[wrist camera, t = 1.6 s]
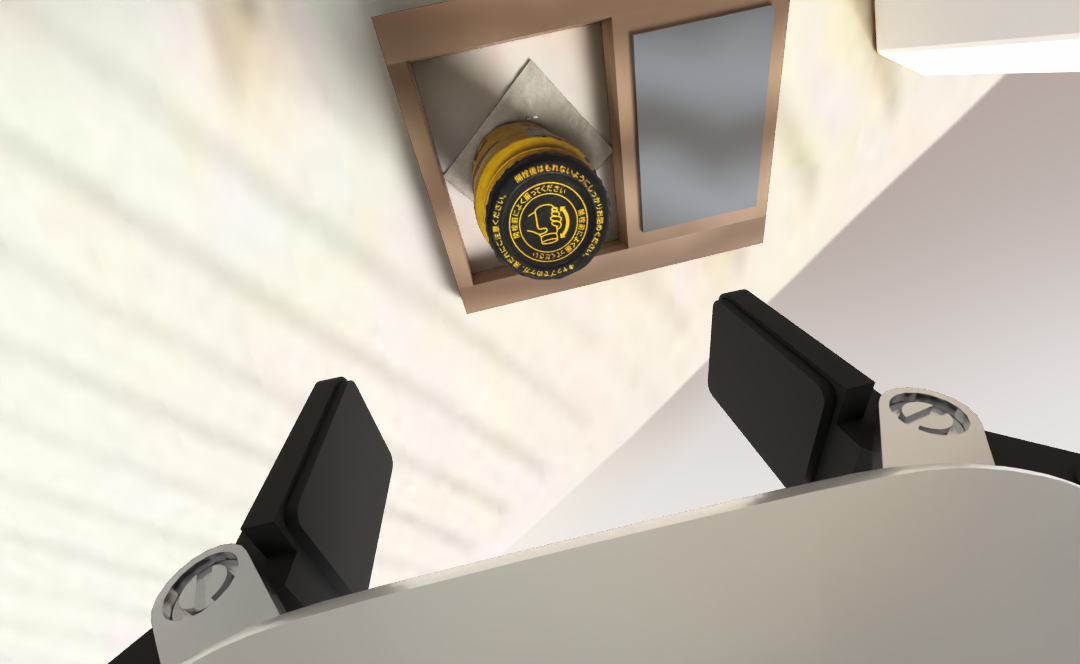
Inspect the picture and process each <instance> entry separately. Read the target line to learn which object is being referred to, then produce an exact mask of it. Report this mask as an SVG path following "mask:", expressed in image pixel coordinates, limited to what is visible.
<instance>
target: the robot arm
mask: <svg viewBox="0 0 1080 664" xmlns="http://www.w3.org/2000/svg"><path fill="white" fill-rule="evenodd" d="M874 384H875V382H874V381H873V380H871V379H870V378H868V377H867V376H866V375H864V374H863V373H862V372H860V371H859V370H857V369H856V368H854V367H853V366H852V365H850V364H849V363H848V362H846V361H845V360H843V359H842V358H841V357H839V356H838V355H837V354H835V353H834V352H832V351H831V350H830V349H828V348H826V347H825V346H824V345H823V344H821V343H820V342H818V341H817V340H816V339H814V338H813V337H812V336H810V335H809V334H807V333H806V332H805V331H803V330H802V329H800V328H799V327H798V326H796V325H795V324H794V323H792V322H791V321H789V320H788V319H787V318H785V317H784V316H782V315H781V314H779V313H778V312H777V311H775V310H774V309H773V308H771V307H770V306H768V305H767V304H766V303H764V302H763V301H762V300H760V299H759V298H757V297H756V296H755V295H753V294H752V293H750V292H749V291H747V290H745V289H743V290H738V291H733V292H728V293H724V294H722V295H720V297H719V300H718V301H715V302H714V304H713V314H712V328H711V343H710V358H709V372H708V387H709V390H710V392H711V394H712V396H713V397H714V398H715V399H716V401H717V402H718V403H719V404H720V406H721V407H722V408H723V409H724V410H725V412H726V413H727V414H728V416H729V417H730V418H731V419H732V421H733V422H734V423H735V424H736V426H737V427H738V428H739V429H740V431H741V432H742V433H743V435H744V436H745V437H746V438H747V439H748V441H749V442H750V443H751V445H752V446H753V447H754V448H755V450H756V451H757V452H758V453H759V455H760V456H761V457H762V458H763V460H764V461H765V462H766V463H767V465H768V466H769V467H770V468H771V470H772V471H773V472H774V473H775V474H776V476H777V477H778V478H779V480H780V481H781V482H782V483H783V485H784V486H785V487H786V488H784V489H780V490H775V491H771V492H768V493H763V494H759V495H754V496H750V497H746V498H742V499H737V500H733V501H729V502H724V503H720V504H716V505H712V506H707V507H703V508H699V509H695V510H690V511H686V512H682V513H678V514H673V515H669V516H665V517H661V518H657V519H652V520H649V521H644V522H640V523H636V524H631V525H627V526H623V527H619V528H615V529H611V530H607V531H602V532H598V533H595V534H590V535H586V536H582V537H577V538H573V539H569V540H565V541H561V542H557V543H553V544H548V545H544V546H540V547H536V548H532V549H528V550H524V551H520V552H515V553H512V554H508V555H503V556H499V557H495V558H491V559H487V560H483V561H479V562H475V563H471V564H467V565H463V566H459V567H455V568H451V569H447V570H442V571H438V572H434V573H430V574H426V575H422V576H418V577H414V578H410V579H406V580H402V581H398V582H394V583H391V584H387V585H383V586H379V587H375V588H372V589H368V588H369V583H370V578H371V573H372V568H373V563H374V558H375V553H376V548H377V543H378V538H379V533H380V528H381V523H382V518H383V513H384V508H385V503H386V498H387V493H388V488H389V483H390V478H391V473H392V468H393V461H392V456H391V453H390V451H389V449H388V447H387V445H386V443H385V441H384V440H383V438H382V436H381V434H380V432H379V430H378V428H377V426H376V424H375V422H374V420H373V418H372V416H371V414H370V412H369V410H368V408H367V406H366V404H365V402H364V400H363V398H362V396H361V394H360V392H359V390H358V388H357V386H356V384H355V383H354V382H353V381H351V380H350V381H347V380H346V379H345V378H344V377H337V378H332V379H328V380H323V381H319V382H317V383H316V384H315V386H314V388H313V390H312V392H311V394H310V396H309V398H308V400H307V402H306V404H305V405H304V407H303V409H302V411H301V413H300V415H299V417H298V419H297V421H296V423H295V425H294V427H293V429H292V430H291V432H290V434H289V436H288V438H287V440H286V442H285V444H284V446H283V448H282V450H281V452H280V454H279V455H278V457H277V459H276V461H275V463H274V465H273V467H272V469H271V471H270V473H269V475H268V477H267V479H266V481H265V482H264V484H263V486H262V488H261V490H260V492H259V494H258V496H257V498H256V500H255V502H254V504H253V506H252V507H251V509H250V511H249V513H248V515H247V517H246V519H245V521H244V523H243V525H242V527H241V530H242V533H241V535H240V536H239V538H238V540H237V542H236V544H232V543H231V544H225V545H220V546H217V547H215V548H212V549H210V550H207V551H205V552H204V553H202V554H200V555H199V556H197V557H195V558H194V559H192V560H191V561H190V562H189V563H187V564H186V565H185V566H184V567H182V568H181V569H180V570H179V571H178V572H177V573H176V574H175V575H174V576H173V577H172V578H171V579H170V580H169V581H168V582H167V583H166V585H165V586H164V588H163V589H162V591H161V592H160V594H159V595H158V597H157V599H156V601H155V603H154V606H153V608H152V612H151V624H152V628H151V629H150V630H149V631H148V632H146V633H145V634H144V635H143V636H141V637H140V638H139V639H138V640H136V641H135V642H134V643H133V644H132V645H130V646H129V647H128V648H127V649H125V650H124V651H123V652H122V653H120V654H119V655H118V656H117V657H116V658H114V659H113V660H112V661H111V662H109V663H108V664H1080V454H1079V453H1074V452H1070V451H1066V450H1062V449H1058V448H1053V447H1050V446H1046V445H1041V444H1037V443H1033V442H1029V441H1025V440H1021V439H1017V438H1012V437H1008V436H1004V435H1000V434H996V433H992V432H987V431H984V429H983V426H982V423H981V421H980V419H979V418H978V416H977V415H976V414H975V413H974V412H973V411H972V410H971V409H970V408H968V407H967V406H966V405H964V404H962V403H961V402H959V401H957V400H955V399H954V398H951V397H948V396H946V395H943V394H941V393H938V392H934V391H930V390H926V389H919V388H909V387H907V388H896V389H892V390H889V391H886V392H885V393H884V394H883V395H881V394H880V393H878V392H877V391H875V390H874V389H873V387H874Z"/></svg>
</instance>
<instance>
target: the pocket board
mask: <svg viewBox="0 0 1080 664" xmlns="http://www.w3.org/2000/svg"><path fill="white" fill-rule="evenodd" d="M789 3H790V0H451V1H446V2H441V3H437V4H432V5H427V6H422V7H418V8H413V9H408V10H403V11H399V12H394V13H389V14H384V15H380V16H375V17H371V18H372V21H373V24H374V28H375V31H376V34H377V37H378V40H379V43H380V46H381V49H382V52H383V55H384V58H385V62H386V65H387V68H388V71H389V74H390V77H391V80H392V83H393V86H394V89H395V93H396V96H397V99H398V102H399V105H400V108H401V111H402V114H403V117H404V120H405V124H406V127H407V130H408V133H409V136H410V139H411V142H412V145H413V148H414V151H415V155H416V158H417V161H418V164H419V167H420V170H421V173H422V176H423V179H424V182H425V185H426V189H427V192H428V195H429V198H430V201H431V204H432V207H433V210H434V213H435V216H436V220H437V223H438V226H439V229H440V232H441V235H442V238H443V241H444V244H445V247H446V251H447V254H448V257H449V260H450V263H451V266H452V269H453V272H454V275H455V278H456V282H457V285H458V288H459V291H460V294H461V297H462V300H463V303H464V306H465V309H466V313H467V314H469V313H473V312H477V311H482V310H486V309H490V308H494V307H498V306H502V305H506V304H511V303H515V302H519V301H523V300H527V299H531V298H535V297H540V296H544V295H548V294H552V293H556V292H560V291H565V290H569V289H573V288H577V287H581V286H585V285H589V284H594V283H598V282H602V281H606V280H610V279H614V278H619V277H623V276H627V275H631V274H635V273H639V272H643V271H648V270H652V269H656V268H660V267H664V266H668V265H673V264H677V263H681V262H685V261H689V260H693V259H697V258H702V257H706V256H710V255H714V254H718V253H722V252H726V251H731V250H735V249H739V248H743V247H747V246H751V245H756V244H760V243H763V237H764V228H765V219H766V210H767V201H768V192H769V183H770V174H771V165H772V156H773V147H774V138H775V129H776V120H777V111H778V102H779V93H780V84H781V75H782V66H783V57H784V48H785V39H786V30H787V21H788V12H789ZM598 22H601V27H602V39H603V51H604V63H605V74H606V86H607V98H608V110H609V122H610V134H611V146H612V149H613V152H612V158H613V170H614V182H615V194H616V205H617V217H618V229H619V240H615V241H610V242H606V243H603V245H602V247H601V249H600V250H599V252H598V253H597V254H596V255H595V257H594V258H593V259H592V260H591V261H590V263H589V264H588V265H587V266H585V267H584V268H583V269H581V270H579V271H577V272H575V273H572V274H570V275H568V276H566V277H564V278H561V279H558V280H557V279H550V280H536V279H532V278H529V277H524V276H521V275H518V274H517V273H515V272H514V271H512V270H510V269H509V268H508V267H507V266H505V267H501V268H497V269H492V270H488V271H484V272H480V273H475V274H472V270H471V267H470V263H469V260H468V257H467V253H466V250H465V247H464V243H463V240H462V236H461V233H460V230H459V226H458V223H457V220H456V216H455V213H454V209H453V206H452V203H451V199H450V196H449V193H448V189H447V186H446V182H445V179H444V176H443V172H442V169H441V166H440V162H439V159H438V155H437V152H436V149H435V145H434V142H433V139H432V135H431V132H430V128H429V125H428V122H427V118H426V115H425V112H424V108H423V105H422V101H421V98H420V95H419V91H418V88H417V85H416V81H415V78H414V74H413V71H412V68H411V64H410V63H412V62H417V61H421V60H426V59H431V58H435V57H440V56H444V55H449V54H454V53H458V52H463V51H468V50H472V49H477V48H482V47H486V46H491V45H496V44H500V43H505V42H509V41H514V40H519V39H523V38H528V37H533V36H537V35H542V34H547V33H551V32H556V31H560V30H565V29H570V28H574V27H579V26H584V25H588V24H593V23H598Z"/></svg>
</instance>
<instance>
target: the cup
mask: <svg viewBox="0 0 1080 664" xmlns="http://www.w3.org/2000/svg"><path fill="white" fill-rule="evenodd" d="M875 20H876V42H877V51H878V53H879V54H880V55H882V56H884V57H886V58H888V59H890V60H892V61H894V62H896V63H898V64H900V65H902V66H904V67H906V68H908V69H910V70H912V71H914V72H916V73H918V74H921V75H951V74H996V73H1041V72H1080V0H875Z"/></svg>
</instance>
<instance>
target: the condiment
mask: <svg viewBox="0 0 1080 664" xmlns="http://www.w3.org/2000/svg"><path fill="white" fill-rule="evenodd" d="M535 115H537V116H538V118H536V119H533V116H535ZM527 117H530V118H531V119H530V120H527V119H526V118H527ZM612 152H613V149H612V148H611V147H610V146H609V145H608V143H607V142H605V140H604V139H603V138H602V137H601V136H600V135H599V134H598V133H597V132H596V131H595V130H594V128H593V127H592V126H591V125H590V124H589V123H588V122H587V121H586V120H585V119H584V118H583V117H582V116H581V114H580V113H579V112H578V111H577V110H576V109H575V108H574V107H573V106H572V104H571V103H570V102H569V101H567V99H566V98H565V97H564V96H563V95H562V93H561V92H560V91H559V90H558V89H557V88H556V87H555V86H554V85H553V84H552V82H551V81H550V80H549V79H548V78H547V77H546V76H545V75H544V74H543V72H542V71H541V70H540V69H539V68H538V67H537V66H536V65H535V64H534V63H533V61H532V60H530V61H529V63H528V64H527V65H526V67H525V68H524V69H523V71H522V72H521V73H520V75H519V76H518V77H517V79H516V80H515V81H514V83H513V84H512V85H511V87H510V88H509V89H508V91H507V92H506V93H505V95H504V96H503V97H502V99H501V100H500V101H499V103H498V104H497V105H496V107H495V108H494V109H493V111H492V112H491V113H490V115H489V116H488V117H487V118H486V120H485V121H484V122H483V124H482V125H481V126H480V128H479V129H478V130H477V132H476V133H475V134H474V136H473V137H472V138H471V140H470V141H469V142H468V144H467V145H466V146H465V148H464V149H463V150H462V152H461V153H460V154H459V156H458V157H457V158H456V160H455V161H454V162H453V164H452V165H451V166H450V168H449V169H448V170H447V172H446V173H445V175H444V179H446V180H447V181H448V182H449V183H450V184H452V185H453V186H454V187H455V188H457V189H458V190H459V191H460V192H462V193H463V194H464V195H465V196H467V197H468V198H469V199H470V200H471V201H473V202H474V209H475V214H476V219H477V222H478V225H479V228H480V230H481V232H482V234H483V236H484V238H485V239H486V241H487V242H488V243H489V244H490V246H491V247H492V249H493V250H494V252H495V254H496V257H497V258H498V259H499V260H500V262H502V263H503V264H504V265H506V266H507V267H508V268H509V269H510V270H512V271H514V272H515V273H517V274H518V275H521V276H524V277H529V278H532V279H536V280H550V279H557V280H558V279H561V278H564V277H566V276H568V275H570V274H572V273H575V272H577V271H579V270H581V269H583V268H584V267H585V266H587V265H588V264H589V263H590V261H591V260H592V259H593V258H594V257H595V255H596V254H597V253H598V252H599V250H600V249H601V247H602V245H603V243H604V241H605V240H606V236H607V233H608V230H609V218H610V210H609V207H610V202H609V199H608V197H607V191H606V190H605V188H604V186H603V185H602V181H601V179H599V178H598V176H597V174H596V170H597V169H598V168H599V167H600V166H601V165H602V164H603V163H604V162H605V161H606V159H607V158H608V157H609V156H610V155H611V154H612Z"/></svg>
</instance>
